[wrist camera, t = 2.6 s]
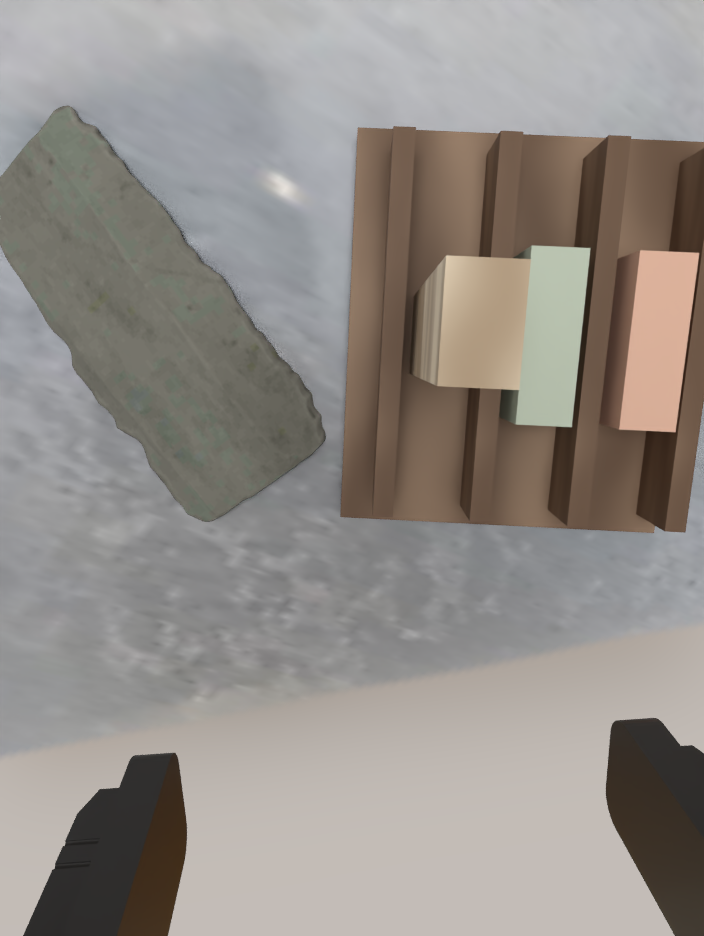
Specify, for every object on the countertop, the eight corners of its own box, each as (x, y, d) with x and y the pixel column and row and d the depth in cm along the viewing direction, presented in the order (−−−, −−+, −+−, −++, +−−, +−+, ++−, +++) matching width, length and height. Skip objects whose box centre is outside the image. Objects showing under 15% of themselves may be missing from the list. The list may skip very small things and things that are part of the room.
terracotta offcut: (586, 419, 35) (619, 429, 30) (604, 264, 33) (640, 250, 29) (636, 422, 35) (675, 432, 30) (655, 266, 33) (699, 252, 29)
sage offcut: (496, 415, 35) (515, 424, 30) (509, 259, 33) (531, 245, 29) (545, 417, 35) (571, 427, 30) (560, 262, 33) (590, 248, 29)
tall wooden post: (409, 373, 35) (437, 385, 21) (414, 295, 34) (446, 255, 20) (458, 375, 34) (519, 390, 21) (464, 298, 34) (531, 259, 20)
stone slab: (213, 524, 40) (342, 429, 37) (197, 540, 37) (335, 439, 34) (-32, 217, 37) (89, 93, 34) (-69, 210, 34) (59, 75, 32)
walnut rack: (341, 510, 37) (337, 534, 32) (358, 137, 34) (356, 100, 29) (642, 525, 37) (684, 552, 32) (690, 151, 34) (745, 116, 29)
